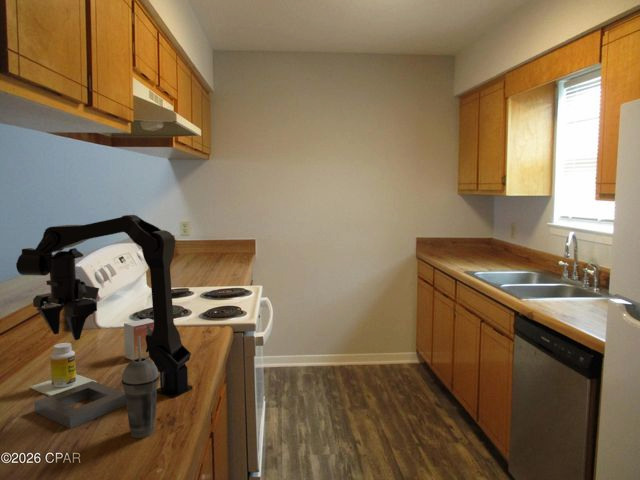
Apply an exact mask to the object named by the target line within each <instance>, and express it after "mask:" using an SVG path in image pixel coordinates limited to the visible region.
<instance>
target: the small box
mask: <svg viewBox="0 0 640 480" xmlns="http://www.w3.org/2000/svg"><path fill="white" fill-rule="evenodd" d="M153 328H154V320H153V319H152V318H148V317H147V318H143V319H140V320H134V321H131V322H130V321H129V322H125V323H123V333H124V334H123V335H124V336H123V337H124V358H126V359H128V360H130V361H133V360H135V359H138V336H140V343H141V358H146V359H148V358H150V357H149V351H148V352H146V349H147V343H146V335H147V334H149V333H151V332H152V331H153Z"/></svg>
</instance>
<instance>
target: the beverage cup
mask: <svg viewBox="0 0 640 480" xmlns="http://www.w3.org/2000/svg"><path fill="white" fill-rule="evenodd" d="M121 375H122V377H121V381H120V382H121V384H122V388H123V392H125V397H126V405H125V406H126V411H127V420H128V426H129V431H130V436H131V437H132V438H135V439H143V438H144V439H145V438H147V437H151V436H152V435H153V434H154V433H155V425H156V410H157V393H158V392H157V389H158V388H159V387H158V386H159V382H160V373H159V372H158V369H157V367H156V365H155V364H154V361H153V360H151V359H150V358H149V359H148V358H141V343H140V336H138V359H135V360H130V362H129V363H127V364H126V366H125V367H124V370H123V372H122V374H121Z"/></svg>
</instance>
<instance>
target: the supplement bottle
mask: <svg viewBox="0 0 640 480" xmlns="http://www.w3.org/2000/svg"><path fill="white" fill-rule="evenodd" d="M72 349H73V348H72V343H71V342H62V343H57V344H55V345H53V352H52V353H50V356H49V357H50V377H51V379H50V380H51V381H52V386H54V387H57V388H62V387H67V386H71V385H73V384H74V383H75V382H76V374H77V372H76V371H77V368H76V352H75V351H74V350H72Z"/></svg>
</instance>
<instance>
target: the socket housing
mask: <svg viewBox="0 0 640 480" xmlns="http://www.w3.org/2000/svg"><path fill="white" fill-rule="evenodd" d="M94 381H95V380H94ZM94 381H91V382H88V383H85V384H82V385H79V386H77V387H74V388H71V389H68V390H65V391H62V392H60V393H57V394H54V395H51V396H48V395H47V396H45V397H42V398H41V399H37V400H35V401H33V403H34V404H33V405H34V407H33V408H34V413H35V414H38V415H40V416H42V417H43V418H44V417H45V418H46V419H49V420H51V421H52V422H55V423H58V424H60V425H61V426H64V427H66V428H68V429H73V428H75V427H79V425H82V424H86V423H88V422H90V421H92V420H94V419H97V418H99V417H101V416H104V415H106V414H108V413H111V412H113V411H115V410H117V409H119V408H123V407H125V406H127V405H126V397H125V392H124V391H121V390H119V389H116V388H114V387H110V386H107V385H105V384H102V383H99V382H98V381H97V382H94ZM86 399H91V400H93V401H90V402H88V403H86V404H83V405H80V406H78V407H74V406H71V405H73V404H76V403H79V402H81V401H84V400H86Z"/></svg>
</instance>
